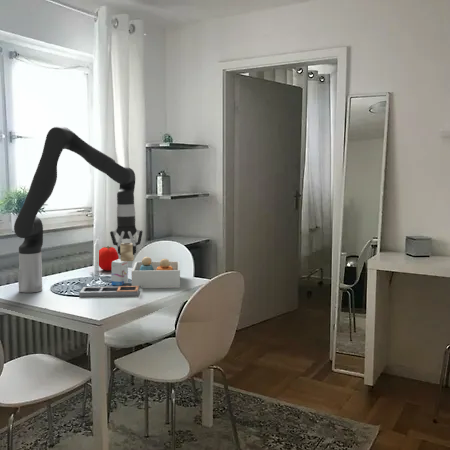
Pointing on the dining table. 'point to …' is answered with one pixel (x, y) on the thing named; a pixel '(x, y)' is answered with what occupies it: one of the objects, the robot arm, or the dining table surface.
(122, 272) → the ink box
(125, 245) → the beige upright block
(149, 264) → the wooden peg dolls
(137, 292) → the gray sorting tray
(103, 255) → the tomato
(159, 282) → the box
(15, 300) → the dining table surface
